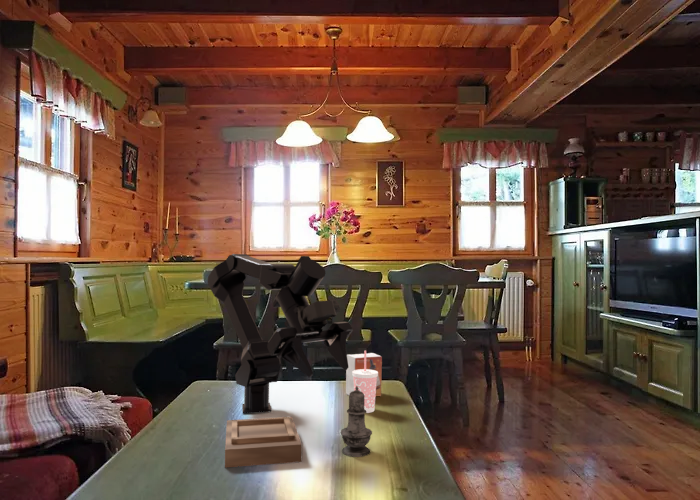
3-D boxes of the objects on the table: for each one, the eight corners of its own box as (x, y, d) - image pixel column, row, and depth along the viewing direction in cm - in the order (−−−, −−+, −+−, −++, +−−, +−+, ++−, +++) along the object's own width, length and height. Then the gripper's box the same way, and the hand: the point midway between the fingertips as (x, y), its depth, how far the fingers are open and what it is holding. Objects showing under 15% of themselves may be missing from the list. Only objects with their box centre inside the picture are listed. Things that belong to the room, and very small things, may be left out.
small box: (353, 399, 129) (354, 357, 129) (345, 394, 134) (345, 354, 134) (382, 396, 132) (382, 355, 132) (372, 391, 137) (373, 352, 137)
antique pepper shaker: (369, 458, 90) (370, 390, 90) (337, 455, 91) (337, 388, 91) (374, 447, 96) (375, 383, 96) (343, 444, 97) (344, 381, 97)
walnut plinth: (226, 435, 101) (227, 416, 101) (291, 431, 104) (292, 412, 104) (224, 467, 85) (225, 444, 85) (301, 461, 88) (301, 439, 88)
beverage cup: (346, 409, 120) (347, 350, 120) (366, 404, 124) (366, 347, 124) (363, 415, 115) (363, 353, 115) (383, 410, 119) (383, 351, 119)
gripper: (277, 286, 97) (311, 353, 89) (348, 284, 110) (384, 342, 102) (253, 322, 103) (284, 388, 95) (324, 316, 116) (356, 374, 108)
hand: (329, 372), depth 100 cm, fingers open, 9 cm apart
